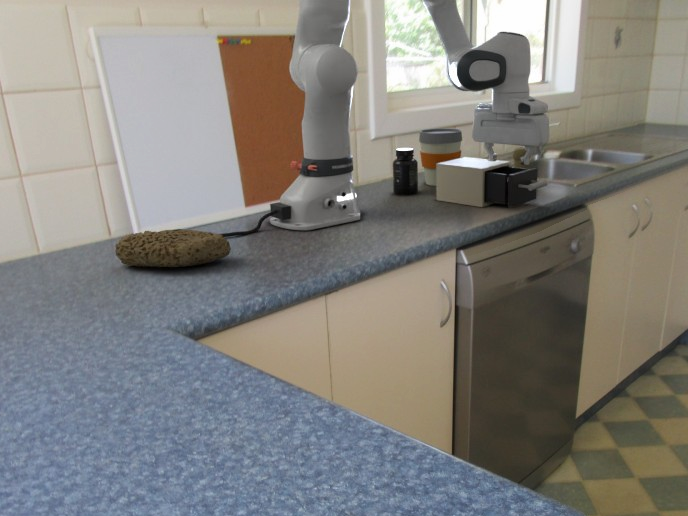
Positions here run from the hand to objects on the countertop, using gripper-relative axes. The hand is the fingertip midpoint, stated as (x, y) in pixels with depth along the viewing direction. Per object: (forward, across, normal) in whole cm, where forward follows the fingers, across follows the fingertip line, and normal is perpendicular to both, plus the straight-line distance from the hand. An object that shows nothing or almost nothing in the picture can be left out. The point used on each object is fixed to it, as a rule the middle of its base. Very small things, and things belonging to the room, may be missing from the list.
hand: (508, 162), depth 164 cm
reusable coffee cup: (+11, -32, +13) cm, 36 cm away
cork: (+11, -9, +20) cm, 24 cm away
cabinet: (+10, -11, 0) cm, 15 cm away
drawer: (+9, 0, 0) cm, 9 cm away
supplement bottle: (+11, -31, -4) cm, 33 cm away
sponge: (+11, -24, -79) cm, 83 cm away
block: (+8, 0, 0) cm, 8 cm away
